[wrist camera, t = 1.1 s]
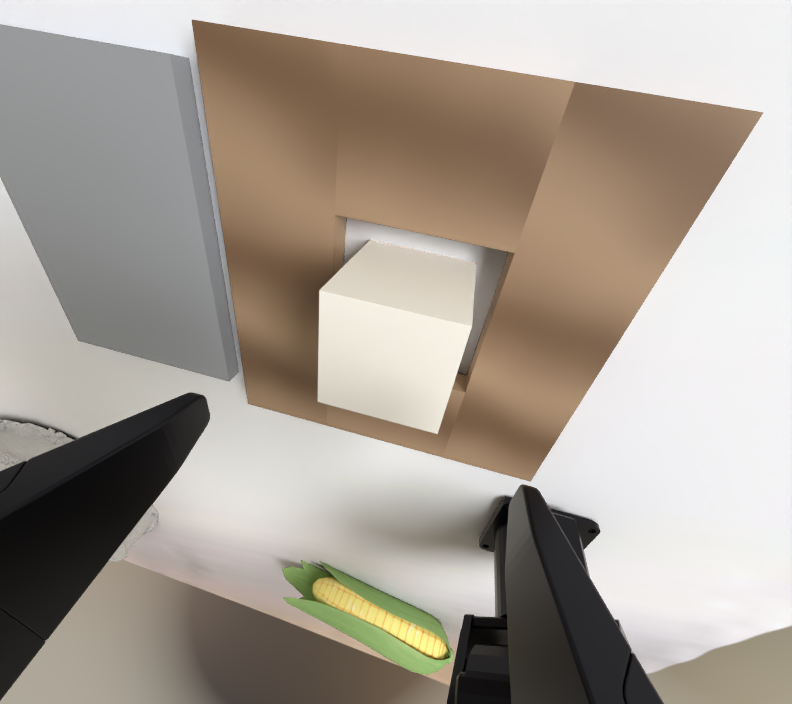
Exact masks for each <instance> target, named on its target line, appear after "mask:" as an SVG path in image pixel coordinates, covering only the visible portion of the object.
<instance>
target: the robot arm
mask: <svg viewBox="0 0 792 704" xmlns="http://www.w3.org/2000/svg"><path fill="white" fill-rule="evenodd" d="M209 420H210V413H209V408H208V404H207V400H206V398H205V397H204V396H203V395H200V394H196V393H187V394H184V395H182V396H179V397H177V398H175V399H172V400H170V401H167V402H165V403H163V404H160V405H158V406H155V407H153V408H151V409H148V410H146V411H143V412H141V413H138V414H136V415H134V416H131V417H129V418H126V419H124V420H122V421H119V422H117V423H114V424H112V425H110V426H107V427H105V428H102V429H100V430H98V431H95V432H93V433H90V434H88V435H86V436H83V437H81V438H78V439H76V440H74V441H71V442H69V443H66V444H64V445H62V446H59V447H57V448H54V449H52V450H50V451H47V452H45V453H42V454H40V455H38V456H35V457H33V458H30V459H29V460H28V461H23V462H21V463H18V464H16V465H13V466H11V467H9V468H6V469H4V470H1V471H0V700H1V699H2V698H3V696H4V695H5V694H6V693H7V691H8V690H9V689H10V687H11V686H12V685H13V683H14V682H15V681H16V680H17V678H18V677H19V676H20V675H21V673H22V672H23V671H24V669H25V668H26V667H27V666H28V664H29V663H30V662H31V660H32V659H33V658H34V657H35V655H36V654H37V653H38V651H39V650H40V649H41V648H42V646H43V645H44V643H45V640H47V639H48V638H49V637H50V636H51V634H52V633H53V632H54V630H55V629H56V628H57V627H58V625H59V624H60V623H61V621H62V620H63V619H64V617H65V616H66V615H67V614H68V612H69V611H70V610H71V608H72V607H73V606H74V605H75V603H76V602H77V601H78V599H79V598H80V597H81V596H82V594H83V593H84V592H85V590H86V589H87V588H88V586H89V585H90V584H91V582H92V581H93V580H94V579H95V577H96V576H97V574H99V572H100V571H101V570H102V568H103V567H104V566H105V565H106V563H107V562H108V561H109V559H110V558H111V557H112V556H113V554H114V553H115V552H116V550H117V549H118V548H119V547H120V545H121V544H122V543H123V541H124V540H125V539H126V538H127V536H128V535H129V534H130V532H131V531H132V530H133V528H134V527H135V526H136V525H137V523H138V522H139V521H140V519H141V518H142V517H143V516H144V514H145V513H146V512H147V510H148V509H149V508H150V507H151V505H152V504H153V503H154V501H155V500H156V499H157V498H158V496H159V495H160V494H161V492H162V491H163V490H164V488H165V487H166V486H167V485H168V483H169V482H170V481H171V479H172V478H173V477H174V475H175V474H176V473H177V471H178V470H179V469H180V467H181V466H182V464H183V463H184V461H185V460H186V458H187V456H188V455H189V453H190V452H191V450H192V448H193V447H194V445H195V444H196V442H197V440H198V439H199V437H200V436H201V434H202V432H203V431H204V429H205V428H206V426H207V425H208V423H209ZM599 533H600V529H599V525H598V524H597V523H596V522H594V521H590V520H586V519H583V518H579V517H576V516H572V515H569V514H565V513H562V512H558V511H554V510H551V509H549V507H548V505H547V503H546V502H545V500H544V498H543V497H542V495H541V493H540V492H539V490H538V489H537V488H534V487H531V486H527V485H521V486H520V487H519V488H518V490H517V491H516V493H515V495H514V496H513V498H505V499H503V500H502V501H501V503H500V505H499V507H498V508H497V510H496V512H495V514H494V515H493V517H492V519H491V520H490V522H489V524H488V526H487V527H486V529H485V531H484V532H483V534H482V536H481V538H480V539H479V546H480V547H481V548H482V549H485V550H488V551H491V552H494V572H495V617H477V616H474V615H470V614H465V615H464V620H463V625H462V629H461V632H460V637H459V642H458V647H457V652H456V658H455V663H454V668H453V673H452V678H451V683H450V689H449V694H448V699H447V704H664V703H663V701H662V699H661V698H660V696H659V695H658V693H657V691H656V689H655V688H654V686H653V684H652V683H651V681H650V679H649V678H648V676H647V674H646V673H645V671H644V669H643V668H642V666H641V664H640V662H639V661H638V659H637V657H636V656H635V654H634V653H633V652H632V650H631V647H630V645H629V643H628V641H627V638H626V636H625V634H624V631H623V629H622V627H621V624H620V622H619V620H614V618H613V616H612V615H611V613H610V611H609V610H608V608H607V606H606V604H605V603H604V601H603V599H602V598H601V596H600V594H599V592H598V591H597V589H596V587H595V586H594V584H593V582H592V580H591V579H590V576H589V572H588V567H587V563H586V559H585V554H584V549H585V548H586V547H587V546H588V545H589V544H590V543H591V542H592V541H593V540H594V539H595V537H596V536H597V535H598V534H599Z"/></svg>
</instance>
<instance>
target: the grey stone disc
mask: <svg viewBox="0 0 792 704" xmlns="http://www.w3.org/2000/svg"><path fill="white" fill-rule="evenodd" d="M71 441H74V440H73V439H71V438H68V437H67V436H66V435H65V434H63V433H62V432H57V433H55V430H54V429H51V428H49V429H48V430H46V429H45V428H42V427H40V426H36V425H34V424H30V423H23V424H22V423H21V424H20V423H19V422H13V421H9V420H0V471H1V470H4V469H6V468H9V467H11V466H13V465H16V464H18V463H21V462H23V461H28V460H29V459H30V458H33V457H35V456H38V455H40V454H42V453H45V452H47V451H50V450H52V449H54V448H57V447H59V446H62V445H64V444H66V443H69V442H71ZM157 515H158V511H157V510H156V509H155V508H154V507H153V505H151V507H150V508H149V509H148V510H147V512H146V513H145V514H144V516H143V517H142V518H141V519H140V521H139V522H138V523H137V525H136V526H135V527H134V528H133V530H132V531H131V532H130V534H129V535H128V536H127V538H126V539H125V540H124V541H123V543H122V544H121V545H120V547H119V548H118V549H117V550H116V552H115V553H114V554H113V556H112V557H111V558H110V559H109V561H111V562H114V561H115V562H116V561H117V562H118V561H120V560H122V559H124V558H125V557H127V554H128V553H127V552H128V550H129V549H130V548H131V546H132V545H133V544H134V543H135V542H136V541H137V540H138V538H139V537H140V536H141V535H143V534H147V533H148V532H149V531H151V530H152V529H153V527H155V525H156V522H157V520H158V519H157V518H158V516H157Z"/></svg>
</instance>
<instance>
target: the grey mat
mask: <svg viewBox="0 0 792 704" xmlns="http://www.w3.org/2000/svg"><path fill="white" fill-rule="evenodd" d="M0 177H1V179H2V182H3V184H4V186H5V188H6V190H7V192H8V194H9V196H10V198H11V200H12V203H13V205H14V207H15V209H16V211H17V213H18V215H19V217H20V219H21V222H22V224H23V226H24V228H25V230H26V232H27V234H28V236H29V238H30V240H31V243H32V245H33V247H34V249H35V251H36V253H37V255H38V257H39V259H40V261H41V264H42V266H43V268H44V270H45V272H46V274H47V276H48V278H49V280H50V282H51V285H52V287H53V289H54V291H55V293H56V295H57V297H58V299H59V301H60V303H61V306H62V308H63V310H64V312H65V314H66V316H67V318H68V320H69V322H70V324H71V327H72V329H73V331H74V333H75V335H76V337H77V339H78V341H82V342H85V343H89V344H93V345H96V346H100V347H104V348H108V349H111V350H115V351H119V352H122V353H126V354H130V355H133V356H137V357H141V358H145V359H148V360H152V361H156V362H159V363H163V364H167V365H171V366H174V367H178V368H182V369H185V370H189V371H193V372H196V373H200V374H204V375H208V376H211V377H215V378H219V379H222V380H226V381H230V380H231V379H232V378H233V377H234V376H235V375H236V374H237V373H238V366H237V360H236V353H235V347H234V341H233V334H232V328H231V322H230V316H229V309H228V303H227V297H226V290H225V284H224V278H223V271H222V265H221V259H220V252H219V246H218V240H217V233H216V227H215V221H214V214H213V208H212V202H211V195H210V189H209V183H208V177H207V170H206V164H205V158H204V151H203V145H202V139H201V132H200V126H199V120H198V113H197V107H196V101H195V94H194V88H193V82H192V75H191V69H190V63H189V58H185V57H181V56H176V55H172V54H167V53H161V52H155V51H150V50H144V49H138V48H132V47H127V46H121V45H115V44H110V43H104V42H98V41H92V40H87V39H81V38H75V37H69V36H64V35H58V34H52V33H46V32H41V31H35V30H29V29H23V28H18V27H12V26H6V25H0Z"/></svg>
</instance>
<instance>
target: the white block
mask: <svg viewBox="0 0 792 704" xmlns="http://www.w3.org/2000/svg"><path fill="white" fill-rule="evenodd" d="M476 264H477V263H475V262H471V261H466V260H462V259H457V258H452V257H448V256H443V255H439V254H434V253H429V252H425V251H420V250H416V249H411V248H407V247H402V246H397V245H393V244H388V243H384V242H379V241H374V240H369V241H368V242H367V243H366V244H365V245H364V246H363V247H362V248H361V249H360V250H359V251H358V252H357V253H356V254H355V255H354V256H353V257H352V258H351V259H350V260H349V261H348V262H347V263H346V264H345V265H344V266H343V267H342V268H341V269H340V270H339V271H338V272H337V273H336V274H335V275H334V276H333V277H332V278H331V279H330V280H329V281H328V282H327V283H326V284H325V285H324V286H323V287H322V288H321V289H320V290H319V343H318V402H320V403H324V404H328V405H331V406H335V407H339V408H342V409H346V410H350V411H354V412H357V413H361V414H365V415H368V416H372V417H376V418H379V419H383V420H387V421H391V422H394V423H398V424H402V425H405V426H409V427H413V428H417V429H420V430H424V431H428V432H431V433H435V434H438V431H439V428H440V425H441V422H442V419H443V416H444V412H445V409H446V406H447V403H448V400H449V397H450V394H451V391H452V387H453V384H454V381H455V378H456V375H457V372H458V369H459V366H460V363H461V359H462V356H463V353H464V350H465V347H466V344H467V341H468V338H469V335H470V331H471V328H472V321H473V307H474V293H475V278H476Z"/></svg>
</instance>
